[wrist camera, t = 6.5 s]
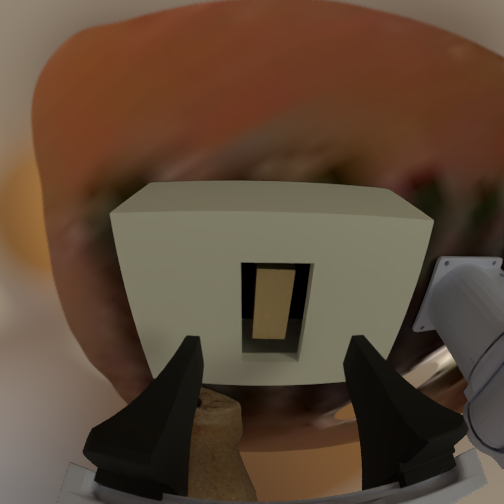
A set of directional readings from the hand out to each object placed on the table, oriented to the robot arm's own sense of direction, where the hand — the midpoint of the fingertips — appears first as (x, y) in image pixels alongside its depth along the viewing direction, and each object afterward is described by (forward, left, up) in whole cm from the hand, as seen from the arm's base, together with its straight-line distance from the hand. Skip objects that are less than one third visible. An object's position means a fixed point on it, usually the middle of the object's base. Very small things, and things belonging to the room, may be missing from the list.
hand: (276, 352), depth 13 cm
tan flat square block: (0, 0, -8) cm, 8 cm away
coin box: (0, 0, -8) cm, 8 cm away
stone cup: (+6, +21, -9) cm, 24 cm away
